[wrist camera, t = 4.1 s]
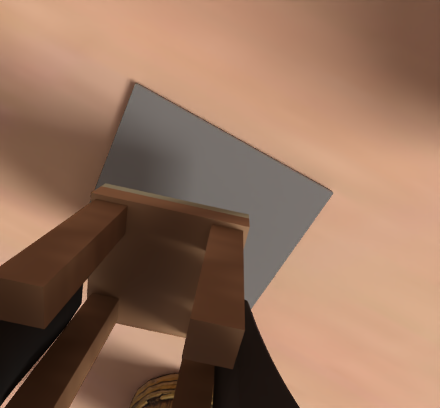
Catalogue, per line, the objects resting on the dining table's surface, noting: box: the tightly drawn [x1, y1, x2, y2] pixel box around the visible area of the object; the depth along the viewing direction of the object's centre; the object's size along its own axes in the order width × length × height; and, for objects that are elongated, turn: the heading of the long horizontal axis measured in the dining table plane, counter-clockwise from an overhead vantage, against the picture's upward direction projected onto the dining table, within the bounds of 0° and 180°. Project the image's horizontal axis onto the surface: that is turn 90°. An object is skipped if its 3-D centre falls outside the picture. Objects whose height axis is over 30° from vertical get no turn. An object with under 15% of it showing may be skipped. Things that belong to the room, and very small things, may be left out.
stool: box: [0, 183, 250, 408], centre depth 10 cm, size 6×6×6 cm
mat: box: [90, 83, 333, 309], centre depth 17 cm, size 12×12×1 cm
